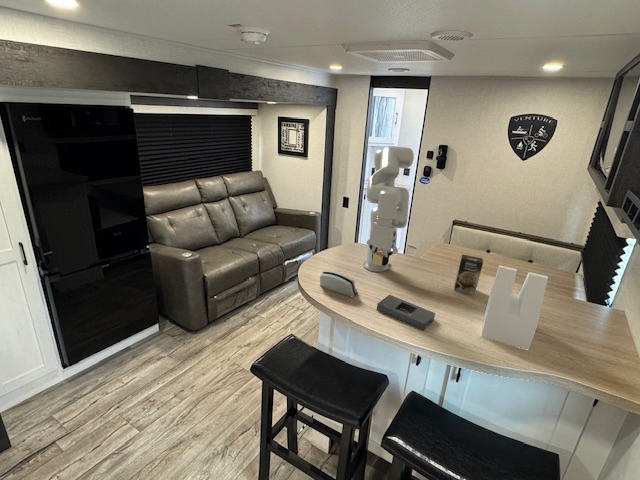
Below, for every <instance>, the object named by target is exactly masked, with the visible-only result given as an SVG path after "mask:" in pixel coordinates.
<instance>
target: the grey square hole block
mask: <svg viewBox="0 0 640 480" xmlns="http://www.w3.org/2000/svg"><path fill="white" fill-rule="evenodd" d="M401 309H402V310H404V311H407V312H408V313H406V312H404V311H402V310H401ZM376 311H377V312H380V313H382V314H385V315H386V316H388V317H392V318H393V319H396V320H397V321H400V322H402V323H405V324H407V325H409V326H411V327H414V328H416V329H418V330H420V331H423V332H424V331H425V330H426V329H427V328H428V327H429V326H430V325H431V324H432V323H433V321H434V320H435V317H436V312H434V311H431V310H429V309H426V308H423V307H422V306H419V305H416V304H415V303H412V302H409V301H406V300H404V299H402V298H399V297H397V296H395V295H392V294H388V295H387V296H385V298H383V299H381V300H380V301H379V302H377V305H376ZM409 313H411V314H409Z"/></svg>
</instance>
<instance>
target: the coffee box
mask: <svg viewBox="0 0 640 480" xmlns="http://www.w3.org/2000/svg"><path fill="white" fill-rule="evenodd" d="M483 265H484V259H483V258H482V257H476V256H473V255H468V254H463V253H462V254H461V256H460V260H459V265H458V267H457V273H456V277H455V281H454V285H453V291H456V292H460V293H464V294H469V295H473V296H474V295H475V294H476V291H477V290H476V289H477V287H478V284H479V279H480V277H481V272H482V268H483Z"/></svg>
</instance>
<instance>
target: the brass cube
mask: <svg viewBox="0 0 640 480" xmlns="http://www.w3.org/2000/svg"><path fill="white" fill-rule="evenodd" d="M384 257H385V252H383V251H380V250H378V251H376V252H375V253H373V259H372V263H373V264H376V265H378V266H381V267H382V266H383V258H384Z"/></svg>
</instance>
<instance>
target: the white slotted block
mask: <svg viewBox="0 0 640 480" xmlns="http://www.w3.org/2000/svg"><path fill="white" fill-rule="evenodd" d="M516 276H517V268H513V267H509V266H504V265H500V264H499V265H498V268H497V271H496V275H495V277H494V279H493V283H492V286H491V289H490V291H489V292H490V293H489V296H488V299H487V300H488V301H487V303H486V307H485V310H484V316H483V321H482V330H481V335H480V337H481V338H485V339H488V338H489V339H488V340H491V339H492V341H494V340H496V341H495V342H497V341H500V342H499V343H501V342H503V343H502V344H504V343H506V344H505V345H507V344H510V345H513V346H517V347H520V348H524V349H528V350H530V348H531V345H532V343H533V339H534V336H535V333H536V331H537V327H538V325H539V321H540V315H541V312H542V307H543V303H544V297H545V294H546V289H547V285H548V280H549V277H548V276H547V275H545V274H544V275H543V274H539V273H535V272H531V271H529V272H528V273H527V275H526V277H525V279H524V282H523V284H522V286H521V288H520V290H519V293H514V292H513V289H514V285H515V280H516ZM510 345H509V346H510ZM513 346H512V347H513ZM517 347H516V348H517ZM520 348H519V349H520Z"/></svg>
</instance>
